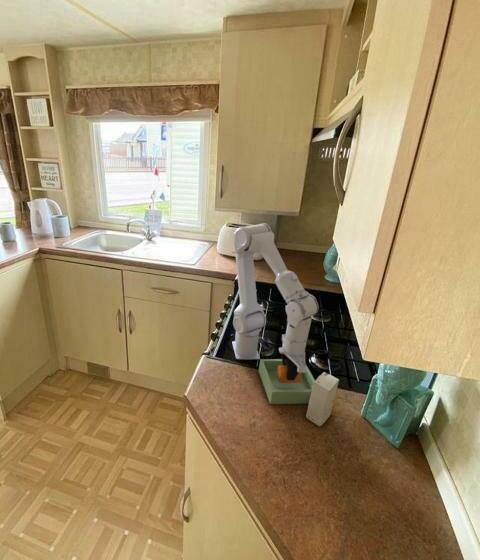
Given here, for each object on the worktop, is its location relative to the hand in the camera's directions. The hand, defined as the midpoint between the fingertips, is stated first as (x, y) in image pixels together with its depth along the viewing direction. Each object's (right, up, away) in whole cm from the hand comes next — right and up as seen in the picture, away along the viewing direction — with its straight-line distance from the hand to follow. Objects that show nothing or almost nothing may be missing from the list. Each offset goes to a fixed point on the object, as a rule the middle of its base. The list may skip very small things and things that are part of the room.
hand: (288, 374), depth 92 cm
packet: (0, -1, +1) cm, 2 cm away
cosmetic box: (+5, -9, -8) cm, 13 cm away
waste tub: (0, -4, +2) cm, 4 cm away
